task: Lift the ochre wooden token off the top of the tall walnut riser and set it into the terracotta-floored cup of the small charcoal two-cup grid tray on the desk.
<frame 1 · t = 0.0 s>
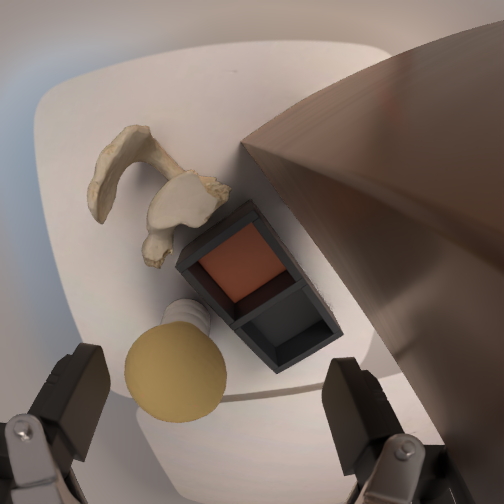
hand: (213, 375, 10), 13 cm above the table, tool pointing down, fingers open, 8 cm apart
grid: (263, 284, 23), on the table
bone: (182, 187, 20), on the table
light bulb: (188, 313, 24), on the table
riser: (297, 151, 20), on the table
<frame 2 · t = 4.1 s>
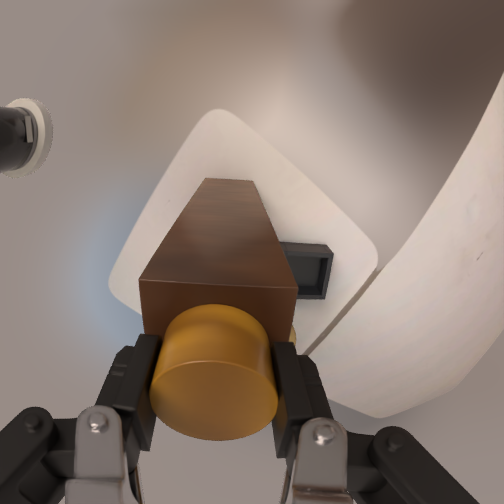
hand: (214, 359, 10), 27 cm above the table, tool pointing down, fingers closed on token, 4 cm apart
grid: (278, 265, 39), on the table
token: (216, 348, 11), point 26 cm above the table, touching gripper, riser
riser: (227, 202, 35), on the table
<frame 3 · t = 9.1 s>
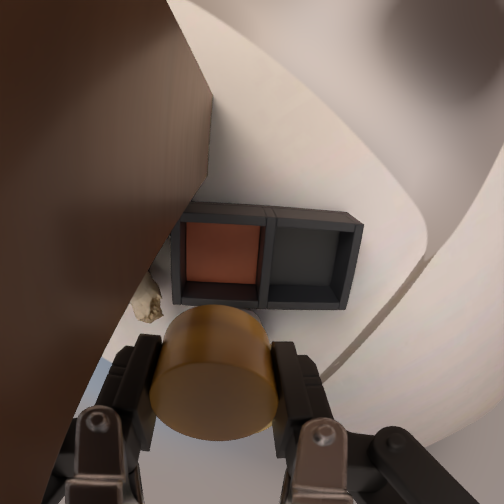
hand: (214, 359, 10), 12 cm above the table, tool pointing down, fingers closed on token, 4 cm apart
grid: (262, 248, 22), on the table
bone: (133, 243, 21), on the table
token: (216, 348, 11), point 11 cm above the table, touching gripper
riser: (168, 134, 18), on the table
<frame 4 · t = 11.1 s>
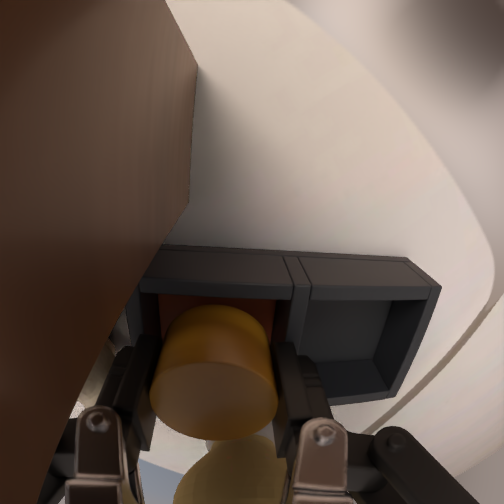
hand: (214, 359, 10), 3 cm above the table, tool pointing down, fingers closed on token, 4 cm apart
grid: (278, 314, 14), on the table
bone: (86, 302, 13), on the table
token: (216, 348, 11), point 3 cm above the table, touching gripper
light bulb: (240, 402, 16), on the table
riser: (123, 133, 10), on the table
when the fingers open (3 cm above the table, at t = 14.3 s): token drops 2 cm, resting on grid.
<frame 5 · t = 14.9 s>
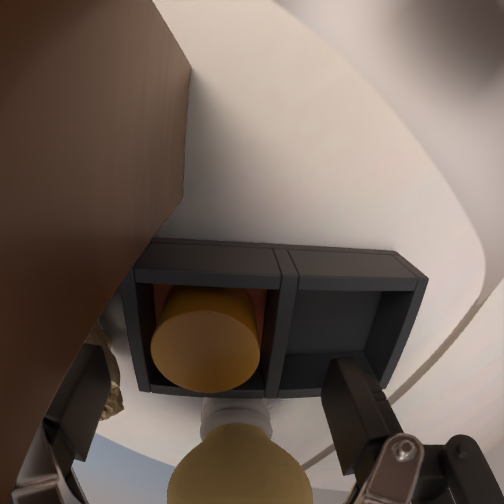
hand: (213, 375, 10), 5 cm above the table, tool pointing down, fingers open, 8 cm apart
grid: (270, 305, 14), on the table
bone: (83, 296, 13), on the table, touching gripper
token: (208, 312, 13), point 1 cm above the table, touching grid
light bulb: (234, 393, 17), on the table
riser: (121, 131, 11), on the table
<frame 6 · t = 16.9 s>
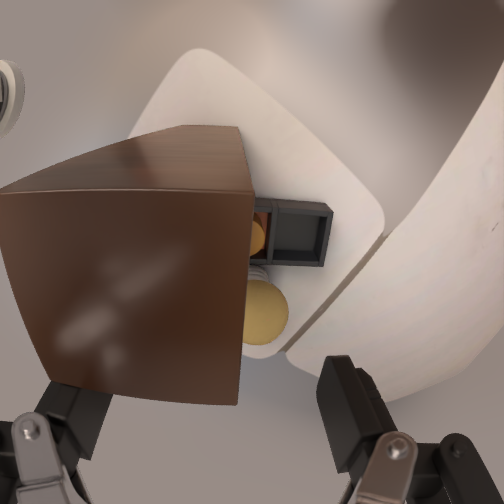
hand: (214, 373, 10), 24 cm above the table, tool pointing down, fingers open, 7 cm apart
grid: (268, 225, 33), on the table
token: (243, 227, 32), point 1 cm above the table, touching grid
light bulb: (251, 275, 36), on the table
riser: (208, 152, 29), on the table
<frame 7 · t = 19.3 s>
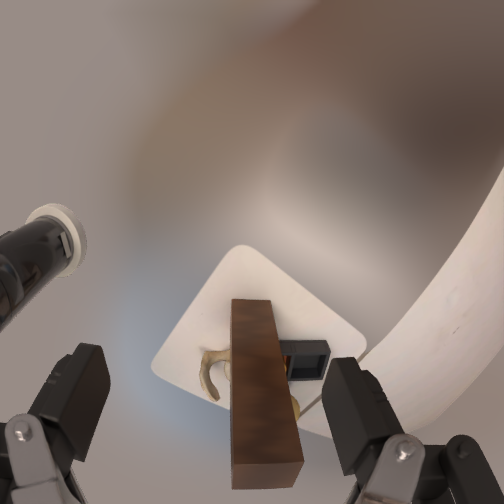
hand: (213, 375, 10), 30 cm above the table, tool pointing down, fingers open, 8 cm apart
grid: (287, 355, 47), on the table
bone: (230, 354, 47), on the table
riser: (249, 315, 44), on the table
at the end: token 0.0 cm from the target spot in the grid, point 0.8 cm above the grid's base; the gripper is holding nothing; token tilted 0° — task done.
